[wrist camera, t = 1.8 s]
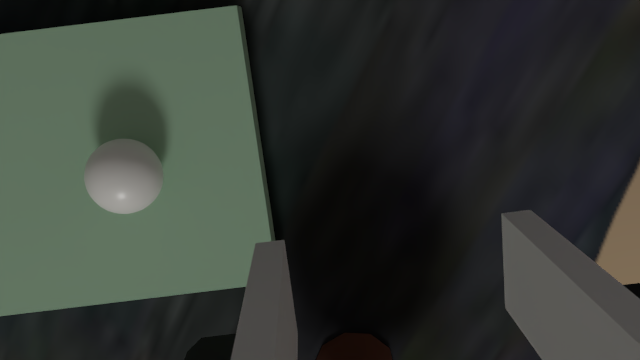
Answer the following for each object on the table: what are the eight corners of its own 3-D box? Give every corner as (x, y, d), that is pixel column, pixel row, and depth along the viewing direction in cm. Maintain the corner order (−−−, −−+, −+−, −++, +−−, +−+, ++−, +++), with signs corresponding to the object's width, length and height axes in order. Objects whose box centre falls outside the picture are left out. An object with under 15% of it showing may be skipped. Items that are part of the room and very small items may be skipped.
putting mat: (-185, 34, 33) (-537, 41, 19) (237, -18, 33) (191, -48, 19) (-94, 311, 38) (-328, 480, 24) (279, 266, 38) (265, 408, 24)
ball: (91, 137, 33) (63, 151, 29) (163, 128, 33) (145, 142, 29) (107, 205, 34) (81, 228, 30) (176, 196, 34) (160, 219, 30)
